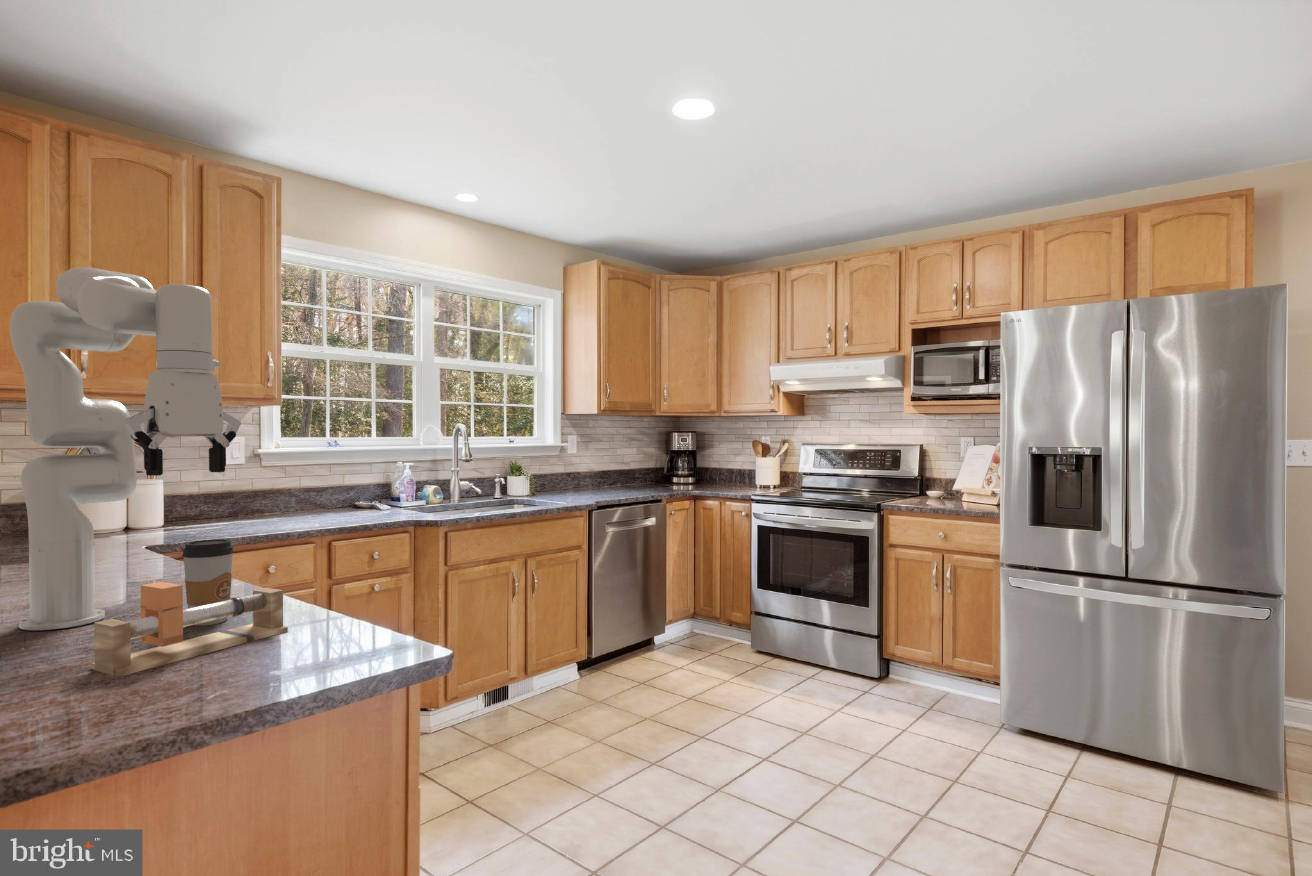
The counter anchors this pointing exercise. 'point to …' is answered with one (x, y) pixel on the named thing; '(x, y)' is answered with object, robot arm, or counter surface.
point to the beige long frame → (120, 661)
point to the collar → (163, 612)
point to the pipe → (202, 614)
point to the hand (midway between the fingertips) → (186, 473)
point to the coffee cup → (208, 573)
